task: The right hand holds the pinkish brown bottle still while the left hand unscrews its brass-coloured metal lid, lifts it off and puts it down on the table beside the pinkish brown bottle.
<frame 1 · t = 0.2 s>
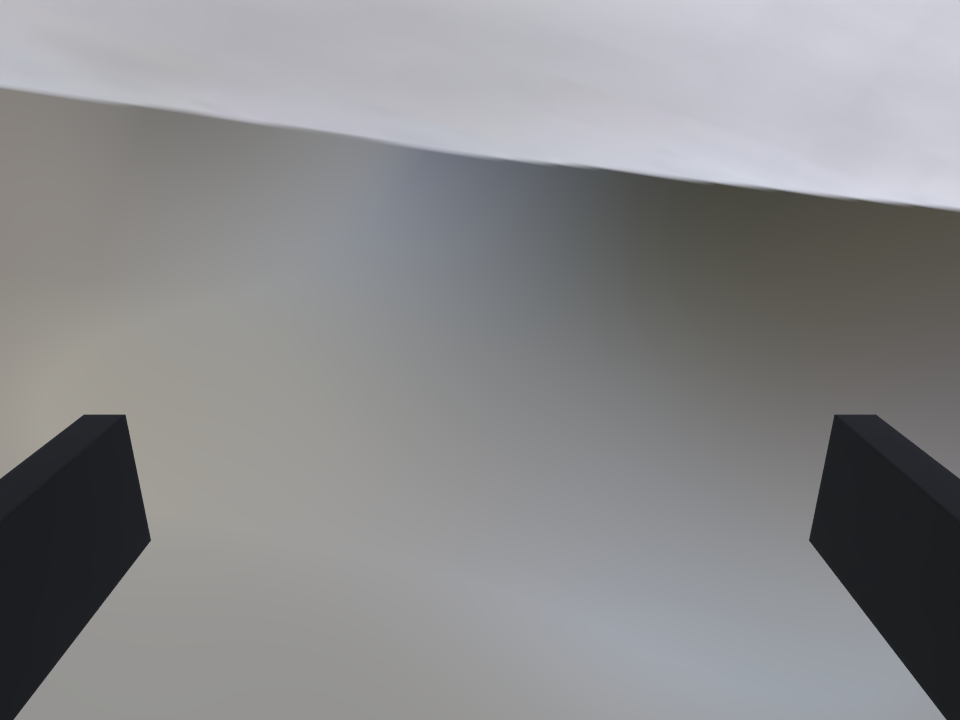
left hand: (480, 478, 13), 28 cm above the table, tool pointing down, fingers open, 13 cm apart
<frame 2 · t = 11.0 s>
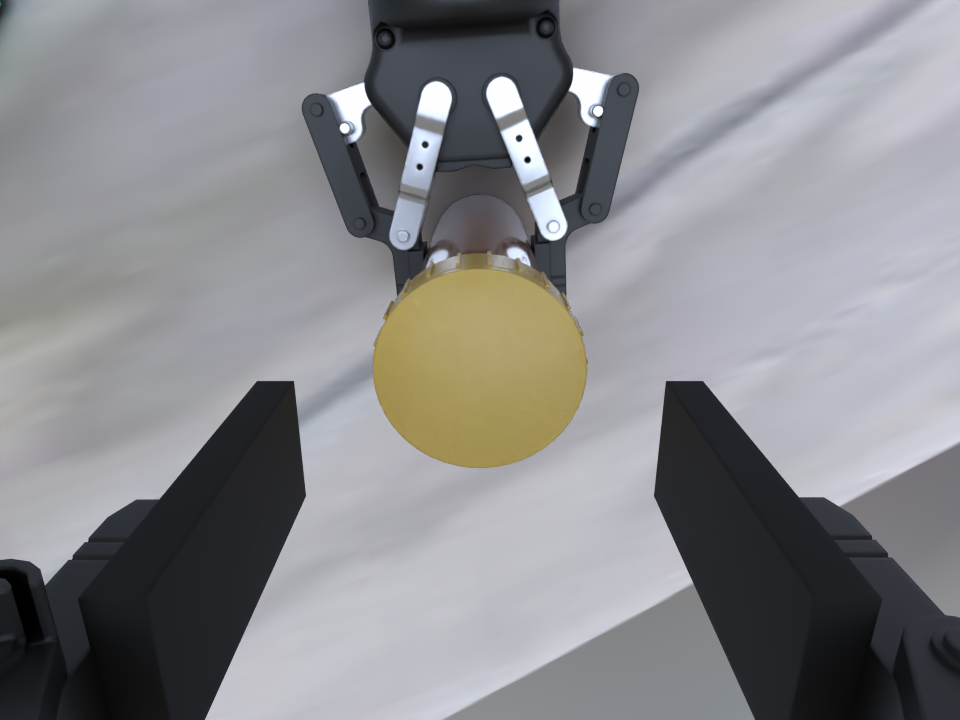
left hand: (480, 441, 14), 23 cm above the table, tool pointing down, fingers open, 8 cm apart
right hand: (484, 320, 31), fingers closed on pinkish brown bottle, 5 cm apart
lid: (479, 369, 18), point 19 cm above the table, screwed on, not yet turned
pinkish brown bottle: (480, 240, 36), on the table, touching right hand
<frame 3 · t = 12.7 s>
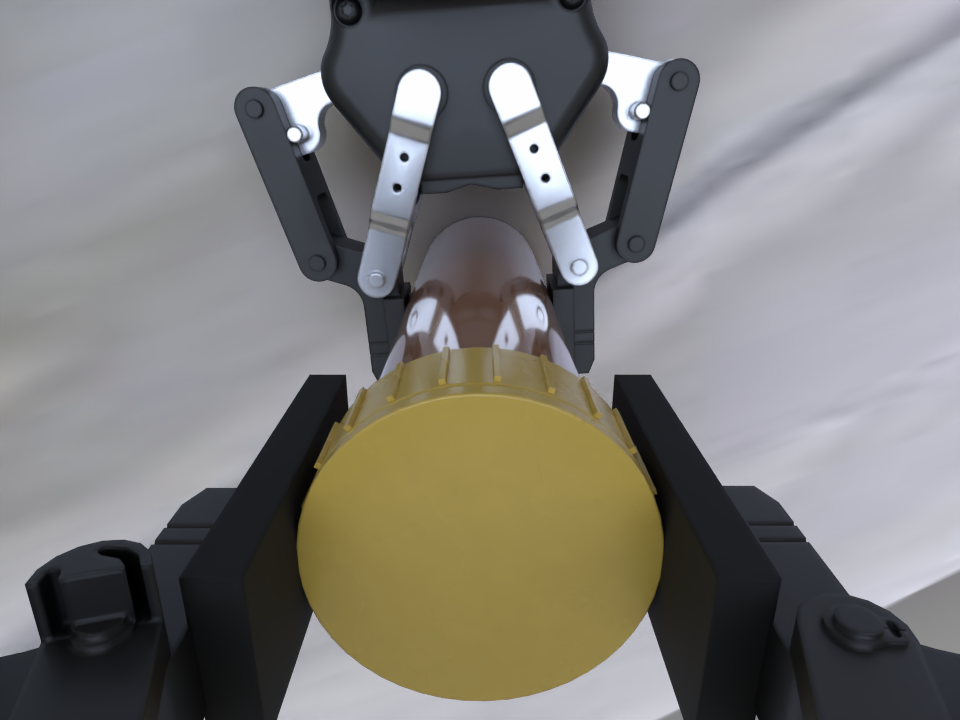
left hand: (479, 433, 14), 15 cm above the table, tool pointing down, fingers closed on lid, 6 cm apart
right hand: (485, 384, 24), fingers closed on pinkish brown bottle, 5 cm apart
lid: (480, 548, 11), point 19 cm above the table, screwed on, not yet turned, touching left hand
pinkish brown bottle: (479, 274, 29), on the table, touching right hand
when the left hand's fingers open (15 cm above the table, at t = 14.0 s): lid stays where it is, point 19 cm above the table.
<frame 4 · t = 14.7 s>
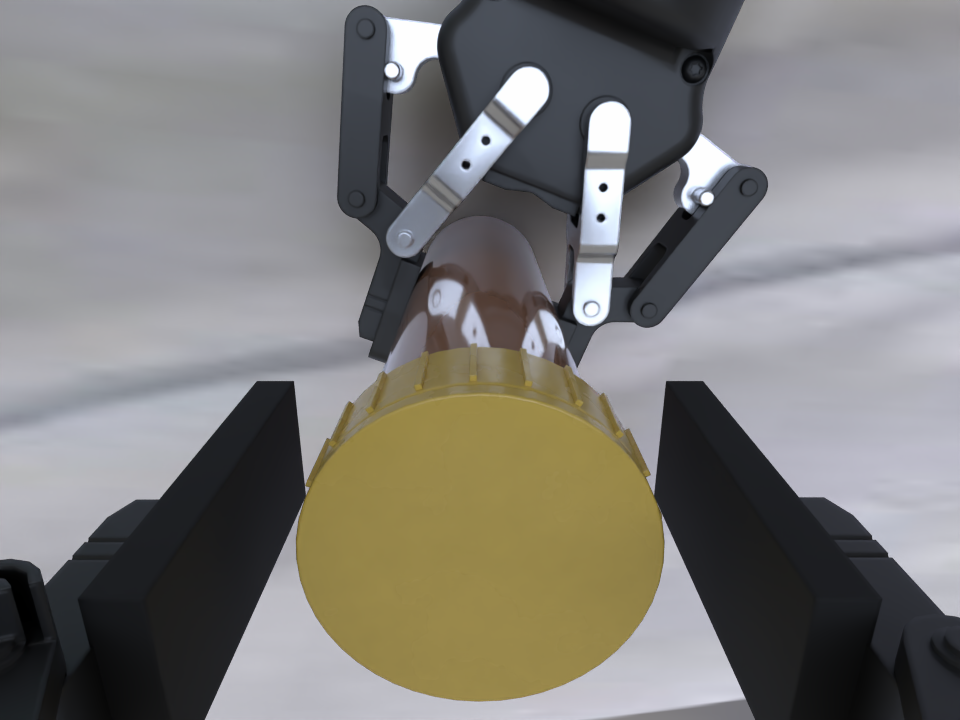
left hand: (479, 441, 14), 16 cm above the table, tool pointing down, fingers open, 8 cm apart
right hand: (454, 377, 24), fingers closed on pinkish brown bottle, 5 cm apart
lid: (480, 548, 11), point 19 cm above the table, turned 97° so far, risen 0.3 cm, still on its thread
pinkish brown bottle: (480, 272, 29), on the table, touching right hand
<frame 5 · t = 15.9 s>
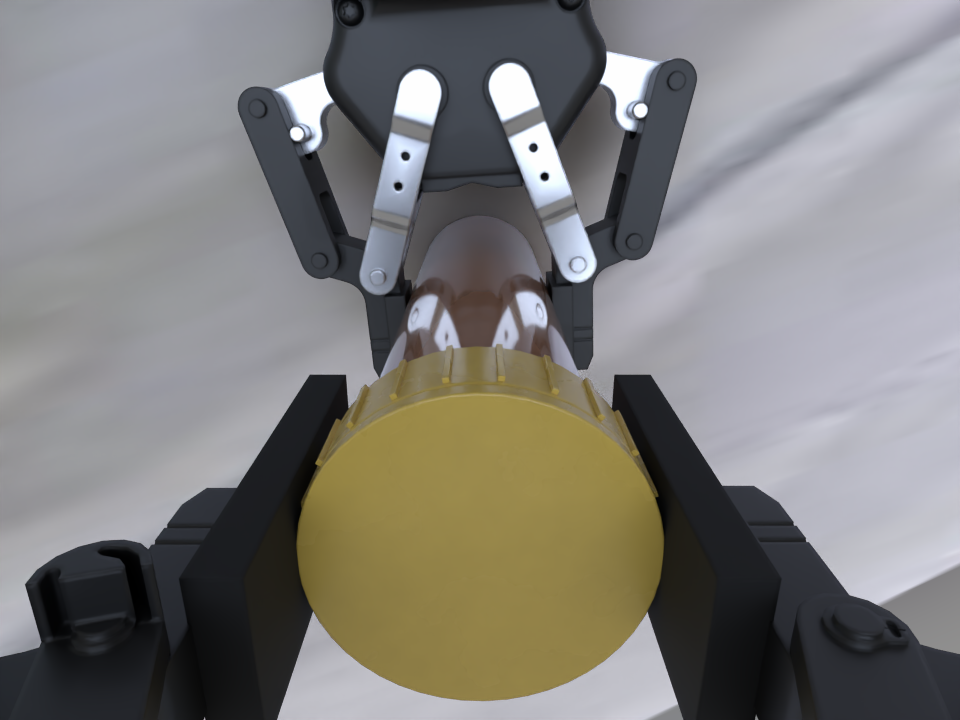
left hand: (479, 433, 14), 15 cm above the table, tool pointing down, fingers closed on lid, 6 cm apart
right hand: (485, 381, 24), fingers closed on pinkish brown bottle, 5 cm apart
lid: (480, 548, 11), point 19 cm above the table, turned 97° so far, risen 0.3 cm, still on its thread, touching left hand
pinkish brown bottle: (480, 272, 29), on the table, touching right hand
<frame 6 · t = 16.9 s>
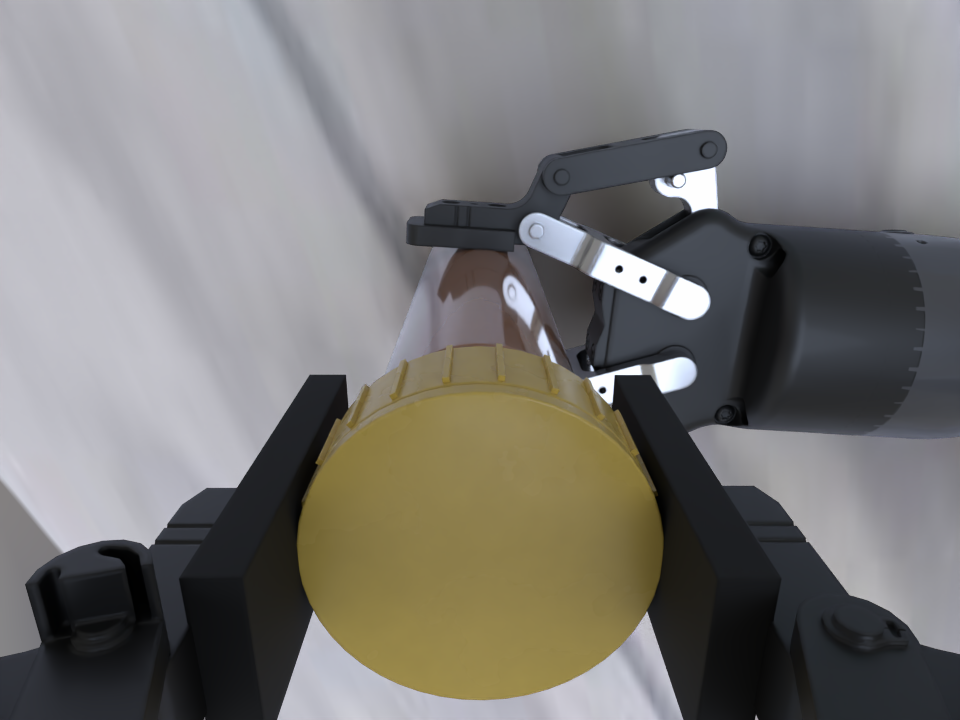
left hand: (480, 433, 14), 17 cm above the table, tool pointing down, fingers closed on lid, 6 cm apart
right hand: (408, 305, 25), fingers closed on pinkish brown bottle, 5 cm apart
lid: (480, 547, 11), point 21 cm above the table, off its thread, touching left hand
pinkish brown bottle: (479, 273, 30), on the table, touching right hand
when the left hand's fingers open (0 cm above the table, at t = 21.7 s): lid drops 3 cm, point 2 cm above the table.
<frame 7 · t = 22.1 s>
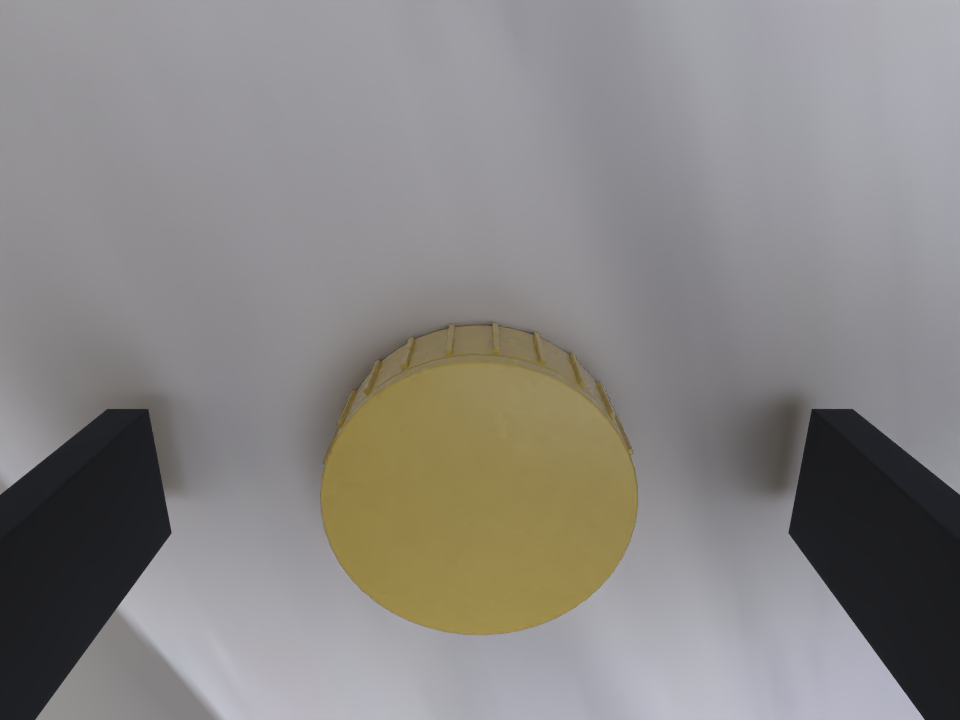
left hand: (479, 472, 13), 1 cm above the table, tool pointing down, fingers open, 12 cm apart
lid: (479, 499, 12), point 2 cm above the table, off its thread
when the right hand's fingers open (6 cm above the table, at t = 22.8 s): pinkish brown bottle stays where it is, on the table.
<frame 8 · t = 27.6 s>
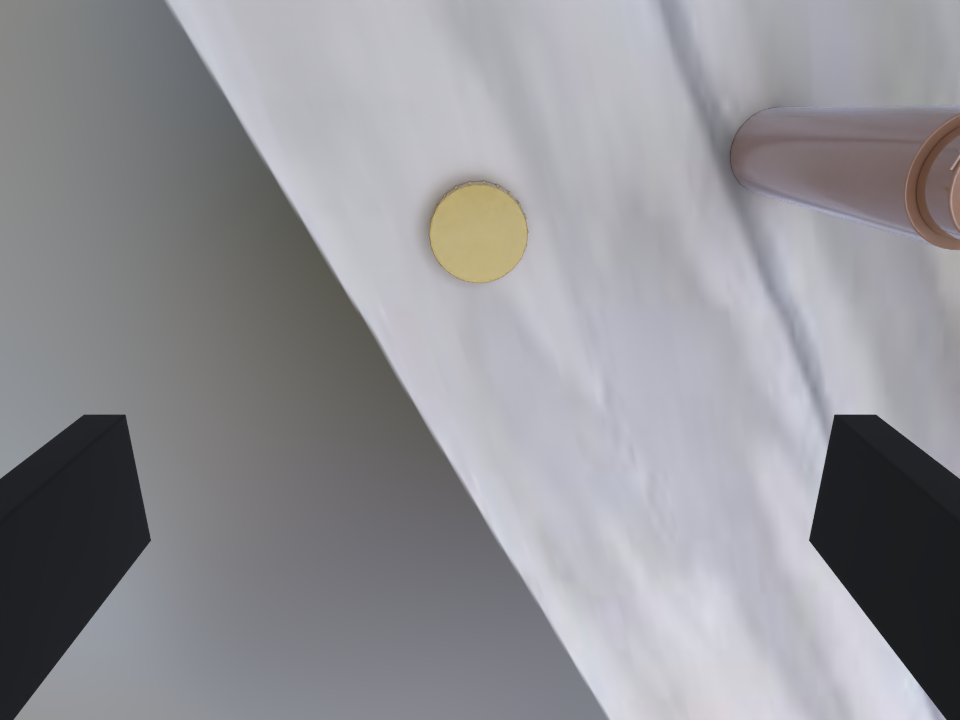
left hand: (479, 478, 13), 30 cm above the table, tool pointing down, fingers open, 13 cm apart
lid: (478, 234, 39), point 2 cm above the table, off its thread
pinkish brown bottle: (771, 151, 39), on the table
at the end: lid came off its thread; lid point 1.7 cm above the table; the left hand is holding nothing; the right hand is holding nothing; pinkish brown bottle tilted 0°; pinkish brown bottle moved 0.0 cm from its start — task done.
